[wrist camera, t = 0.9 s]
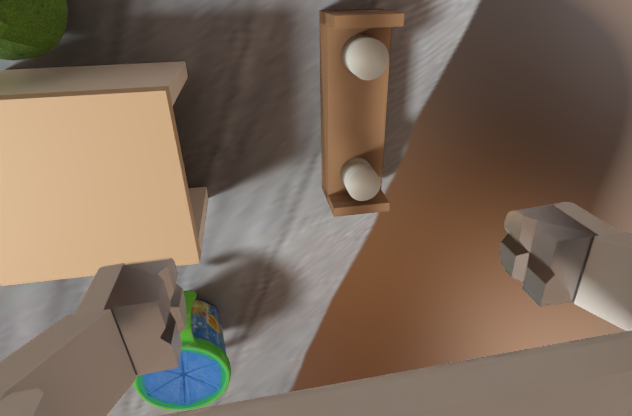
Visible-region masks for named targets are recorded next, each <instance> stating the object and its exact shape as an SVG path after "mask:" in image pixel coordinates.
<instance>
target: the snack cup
mask: <svg viewBox="0 0 632 416" xmlns="http://www.w3.org/2000/svg"><path fill="white" fill-rule="evenodd" d="M183 293H184V296H185V303H186V325H185V329H184V330H183V331H182V332H181V333H180V337H181V341H182V349H181V354H180V360H179V366H178V368H174V369H169V370H164V371H159V372H154V373H149V374H143V375H138V376H136V377H137V379H136V380H135V381H134V382H133V383H134V387H135V389H136V391H137V393H138V394H139V395H140V396H141V397H142V398H143V399H144V400H145V401H147V402H148V403H150V404H152V405H154V406H156V407H159V408H163V409H168V410H190V409H195V408H199V407H202V406H205V405H207V404H209V403H211V402H213V401H215V400H216V399H217V398H219V397H220V396H221V395H222V394H223V393H224V392H225V390H226V389H227V387H228V384H229V381H230V374H231V368H230V362H229V359H228V357H227V355H226V350H225V344H224V337H223V331H222V324H221V320H220V317H219V314H218V311H217V310H216V308H215V306H214V305H210V304H209V303H207V302H205V301H202V300H198V299H196V297H197V295H196V294H197V293H196V292H195V291H191V290H189V291H183Z"/></svg>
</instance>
